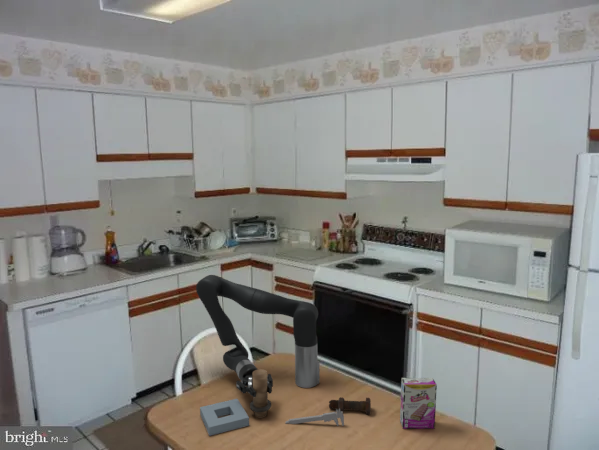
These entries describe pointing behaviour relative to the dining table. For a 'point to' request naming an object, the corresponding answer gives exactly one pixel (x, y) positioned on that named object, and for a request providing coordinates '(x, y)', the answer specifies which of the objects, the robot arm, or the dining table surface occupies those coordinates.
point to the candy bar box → (418, 403)
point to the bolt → (351, 405)
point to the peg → (260, 394)
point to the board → (226, 423)
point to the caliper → (320, 418)
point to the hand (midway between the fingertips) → (262, 392)
